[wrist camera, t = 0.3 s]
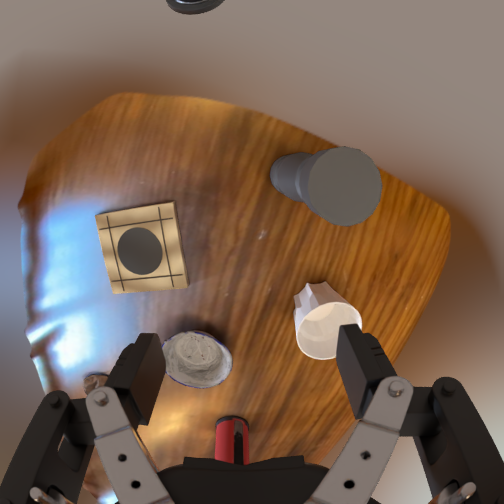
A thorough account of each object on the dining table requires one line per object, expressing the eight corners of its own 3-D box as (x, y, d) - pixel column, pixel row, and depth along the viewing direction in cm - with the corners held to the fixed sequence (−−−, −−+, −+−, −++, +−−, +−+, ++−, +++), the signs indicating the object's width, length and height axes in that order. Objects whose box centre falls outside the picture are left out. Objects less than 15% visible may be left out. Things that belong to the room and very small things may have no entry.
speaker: (254, 420, 58) (258, 484, 41) (239, 436, 60) (240, 496, 43) (224, 411, 57) (220, 477, 40) (210, 428, 59) (205, 489, 41)
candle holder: (316, 184, 43) (395, 208, 19) (280, 201, 44) (325, 244, 20) (298, 148, 42) (365, 130, 18) (262, 165, 42) (288, 164, 18)
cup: (316, 264, 47) (334, 288, 38) (352, 298, 49) (373, 326, 40) (275, 305, 49) (282, 337, 40) (313, 335, 51) (326, 368, 42)
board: (98, 214, 43) (94, 215, 42) (175, 201, 43) (172, 202, 42) (116, 290, 48) (113, 294, 46) (189, 284, 48) (187, 288, 46)
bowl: (157, 358, 52) (151, 373, 47) (176, 308, 49) (170, 321, 44) (218, 381, 54) (216, 397, 49) (243, 334, 51) (243, 349, 46)
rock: (128, 411, 57) (125, 418, 55) (85, 394, 56) (82, 401, 53) (131, 383, 54) (128, 391, 52) (84, 365, 52) (79, 372, 50)
